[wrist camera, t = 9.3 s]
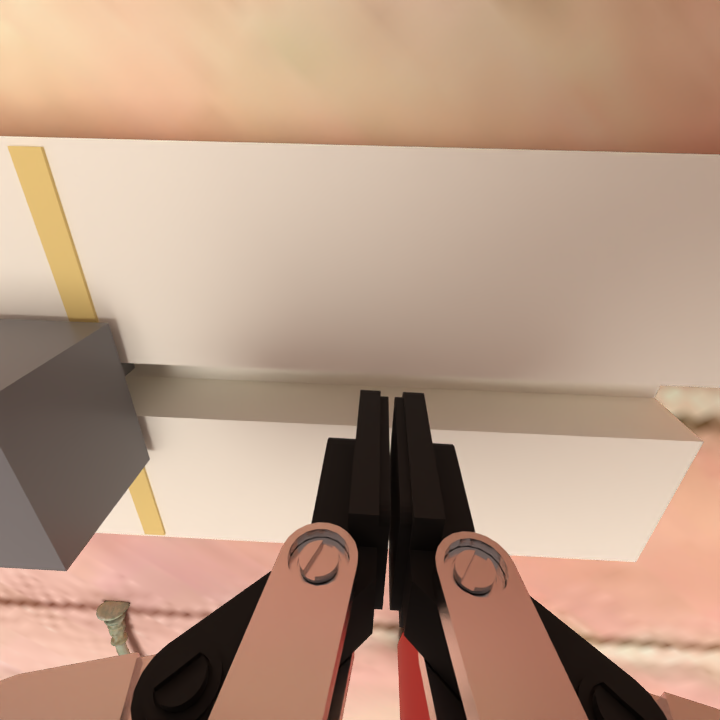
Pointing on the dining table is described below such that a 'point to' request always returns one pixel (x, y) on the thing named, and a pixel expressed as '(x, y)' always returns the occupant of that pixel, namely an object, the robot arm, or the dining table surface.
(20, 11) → the dining table surface
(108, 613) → the soupspoon
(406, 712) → the beer can
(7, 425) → the fader knob
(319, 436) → the slider console
